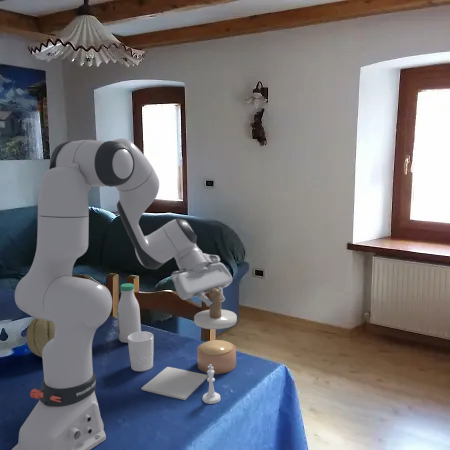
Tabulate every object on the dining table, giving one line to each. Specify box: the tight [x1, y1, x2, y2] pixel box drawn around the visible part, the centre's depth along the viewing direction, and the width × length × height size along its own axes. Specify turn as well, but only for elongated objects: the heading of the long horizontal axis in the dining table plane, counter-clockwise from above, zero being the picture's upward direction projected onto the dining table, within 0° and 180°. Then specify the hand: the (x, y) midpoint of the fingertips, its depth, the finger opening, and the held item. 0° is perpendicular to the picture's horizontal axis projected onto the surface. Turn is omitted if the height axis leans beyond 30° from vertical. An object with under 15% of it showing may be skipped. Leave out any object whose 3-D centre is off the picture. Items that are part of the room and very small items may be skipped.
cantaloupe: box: [26, 318, 55, 358], centre depth 158 cm, size 15×15×15 cm
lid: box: [193, 288, 238, 330], centre depth 147 cm, size 13×13×10 cm
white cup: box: [127, 330, 155, 372], centre depth 149 cm, size 8×8×10 cm
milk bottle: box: [117, 282, 142, 344], centre depth 169 cm, size 8×8×20 cm
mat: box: [141, 366, 209, 401], centre depth 139 cm, size 14×14×1 cm
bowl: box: [196, 339, 237, 375], centre depth 150 cm, size 12×12×6 cm
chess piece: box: [201, 364, 221, 405], centre depth 130 cm, size 5×5×10 cm
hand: (216, 303), depth 146 cm, fingers closed on lid, 4 cm apart
